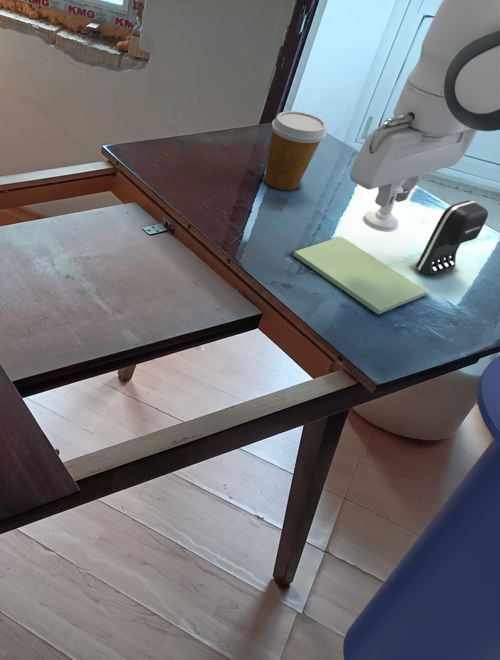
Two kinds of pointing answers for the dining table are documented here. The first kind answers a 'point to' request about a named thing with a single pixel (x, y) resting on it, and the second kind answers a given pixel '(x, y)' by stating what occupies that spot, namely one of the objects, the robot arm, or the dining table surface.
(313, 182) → the dining table surface
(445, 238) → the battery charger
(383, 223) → the chess piece
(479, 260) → the dining table surface
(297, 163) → the disposable coffee cup
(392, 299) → the mat
